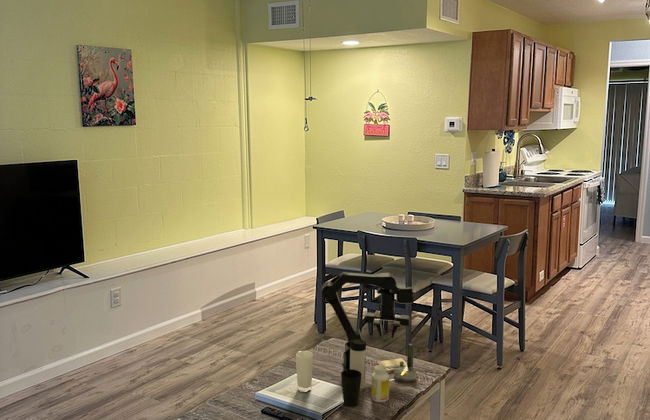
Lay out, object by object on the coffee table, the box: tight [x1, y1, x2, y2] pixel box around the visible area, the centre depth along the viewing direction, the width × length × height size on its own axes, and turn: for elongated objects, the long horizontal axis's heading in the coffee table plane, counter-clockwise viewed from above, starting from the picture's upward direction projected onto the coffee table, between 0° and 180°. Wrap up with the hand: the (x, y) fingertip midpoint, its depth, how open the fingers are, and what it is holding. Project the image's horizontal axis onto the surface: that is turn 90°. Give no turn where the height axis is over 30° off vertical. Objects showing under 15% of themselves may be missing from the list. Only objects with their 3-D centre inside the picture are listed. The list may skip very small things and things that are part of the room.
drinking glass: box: [295, 350, 314, 388], centre depth 234 cm, size 7×7×15 cm
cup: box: [340, 369, 362, 408], centre depth 223 cm, size 8×8×12 cm
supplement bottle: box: [370, 364, 390, 403], centre depth 227 cm, size 7×7×13 cm
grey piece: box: [393, 343, 417, 384], centre depth 246 cm, size 12×9×12 cm
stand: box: [376, 357, 407, 374], centre depth 256 cm, size 12×9×3 cm
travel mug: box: [350, 339, 367, 392], centre depth 235 cm, size 6×7×20 cm
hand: (386, 338), depth 254 cm, fingers open, 4 cm apart
